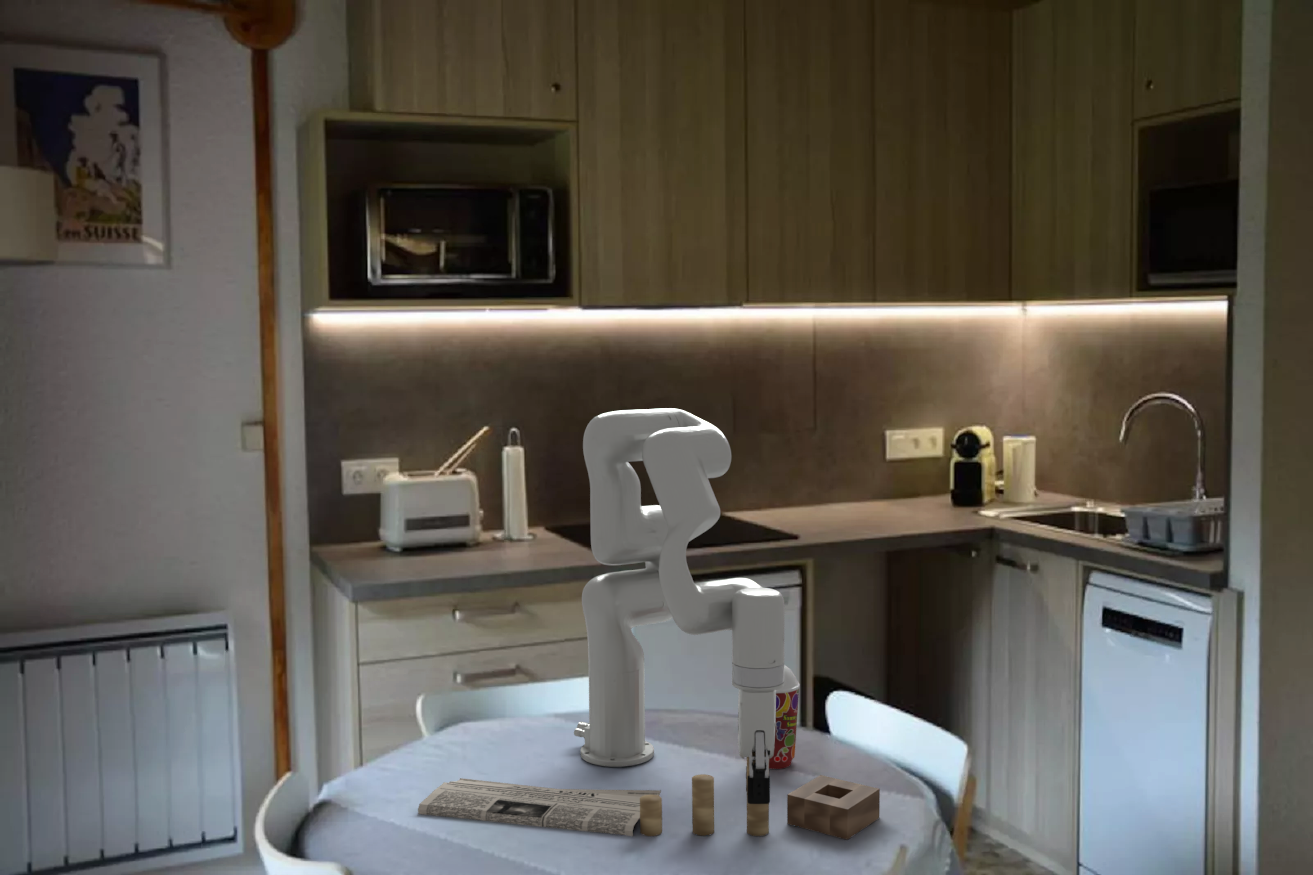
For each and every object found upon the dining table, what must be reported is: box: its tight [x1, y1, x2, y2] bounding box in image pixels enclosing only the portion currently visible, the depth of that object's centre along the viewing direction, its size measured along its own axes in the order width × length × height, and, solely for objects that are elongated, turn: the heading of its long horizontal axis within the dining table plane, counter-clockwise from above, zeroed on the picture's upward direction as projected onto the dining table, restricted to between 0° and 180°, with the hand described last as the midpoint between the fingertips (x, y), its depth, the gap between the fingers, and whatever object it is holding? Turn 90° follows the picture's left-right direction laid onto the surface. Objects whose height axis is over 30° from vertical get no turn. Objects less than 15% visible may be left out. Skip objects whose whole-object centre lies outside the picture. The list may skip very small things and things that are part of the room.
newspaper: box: [417, 777, 662, 837], centre depth 198 cm, size 35×12×4 cm, turn 75°
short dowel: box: [639, 795, 663, 837], centre depth 189 cm, size 3×3×5 cm
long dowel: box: [746, 752, 770, 837], centre depth 189 cm, size 3×3×14 cm
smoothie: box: [769, 664, 801, 770], centre depth 217 cm, size 8×8×20 cm
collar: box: [786, 774, 881, 841], centre depth 193 cm, size 10×10×4 cm
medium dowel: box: [691, 773, 715, 837], centre depth 189 cm, size 3×3×8 cm
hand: (757, 797), depth 189 cm, fingers closed on long dowel, 3 cm apart
